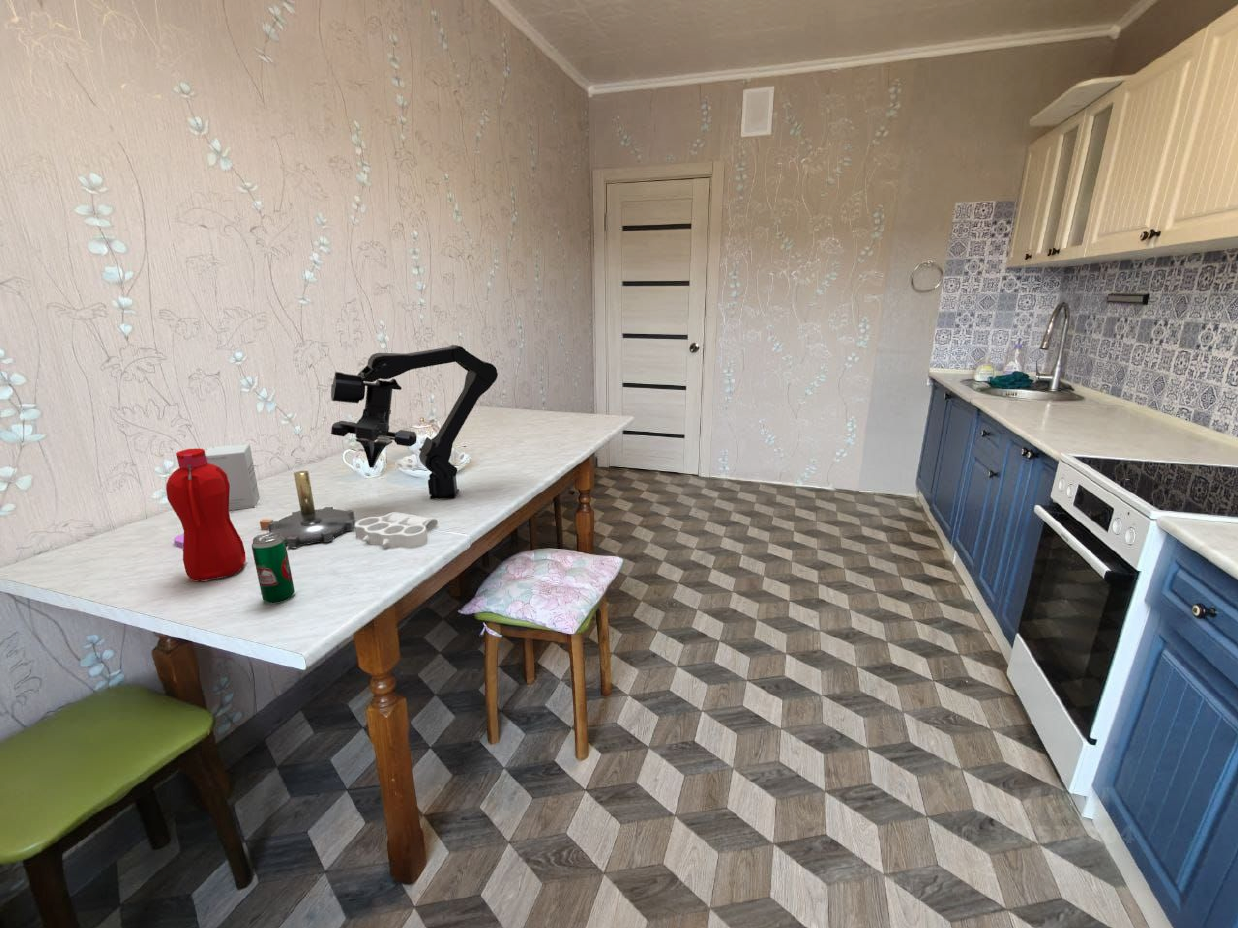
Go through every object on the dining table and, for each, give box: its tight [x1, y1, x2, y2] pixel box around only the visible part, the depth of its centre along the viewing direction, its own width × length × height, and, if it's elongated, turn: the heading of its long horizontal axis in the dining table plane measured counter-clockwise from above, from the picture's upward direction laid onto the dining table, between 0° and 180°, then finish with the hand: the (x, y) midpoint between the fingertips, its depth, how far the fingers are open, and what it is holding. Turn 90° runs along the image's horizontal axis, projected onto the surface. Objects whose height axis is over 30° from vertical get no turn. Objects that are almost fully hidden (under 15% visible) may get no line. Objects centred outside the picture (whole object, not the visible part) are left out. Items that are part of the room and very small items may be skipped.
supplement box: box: [205, 443, 260, 511], centre depth 145 cm, size 9×9×15 cm
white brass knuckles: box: [354, 511, 439, 549], centre depth 129 cm, size 3×18×15 cm
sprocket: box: [267, 470, 356, 549], centre depth 129 cm, size 19×19×12 cm
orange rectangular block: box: [259, 519, 274, 531], centre depth 132 cm, size 2×1×2 cm, turn 83°
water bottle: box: [165, 448, 246, 582], centre depth 108 cm, size 9×11×25 cm
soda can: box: [251, 531, 296, 604], centre depth 101 cm, size 5×5×12 cm
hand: (371, 467), depth 141 cm, fingers closed
